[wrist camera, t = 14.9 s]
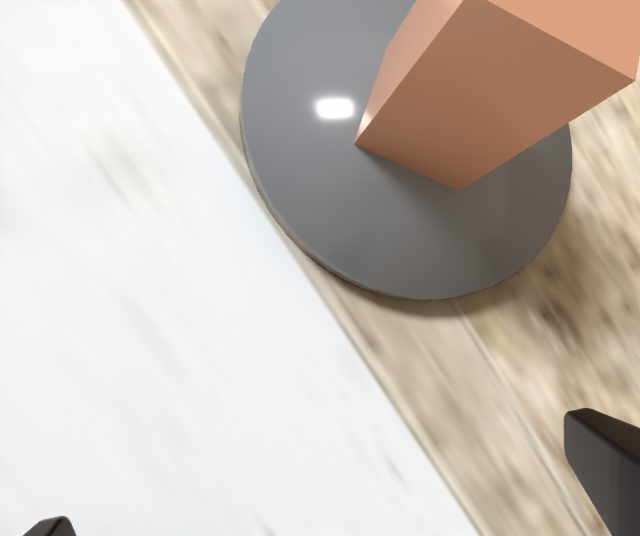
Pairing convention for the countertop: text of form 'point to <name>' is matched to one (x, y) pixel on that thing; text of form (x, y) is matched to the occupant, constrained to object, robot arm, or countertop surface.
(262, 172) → the slate plate
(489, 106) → the tall clay pillar
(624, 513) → the robot arm
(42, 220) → the countertop surface
